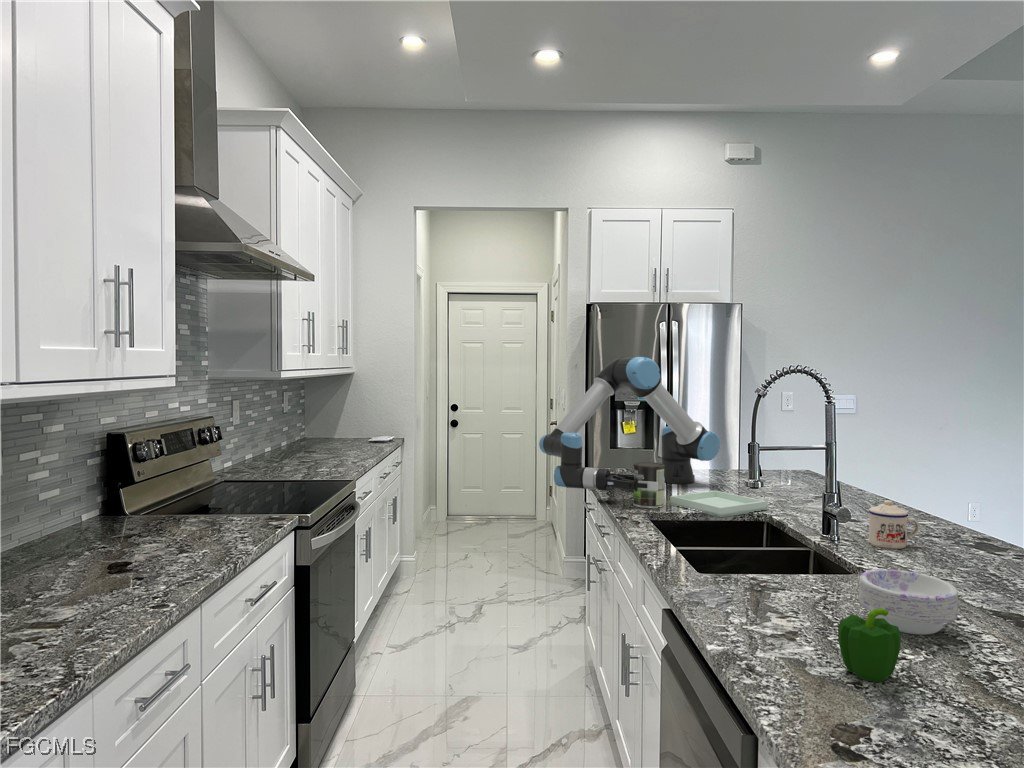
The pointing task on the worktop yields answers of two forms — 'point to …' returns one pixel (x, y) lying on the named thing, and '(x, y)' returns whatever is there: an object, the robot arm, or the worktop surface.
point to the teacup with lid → (889, 526)
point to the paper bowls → (909, 599)
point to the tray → (719, 503)
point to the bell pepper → (869, 645)
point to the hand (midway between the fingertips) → (661, 483)
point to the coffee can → (652, 474)
